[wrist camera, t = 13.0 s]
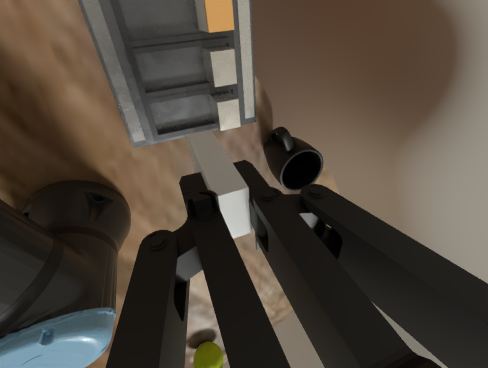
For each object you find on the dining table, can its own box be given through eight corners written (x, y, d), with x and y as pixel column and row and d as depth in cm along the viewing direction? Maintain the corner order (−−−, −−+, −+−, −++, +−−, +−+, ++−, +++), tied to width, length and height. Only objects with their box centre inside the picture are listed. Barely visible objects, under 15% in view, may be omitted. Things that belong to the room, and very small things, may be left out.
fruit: (215, 347, 86) (224, 379, 78) (189, 354, 82) (195, 389, 74) (221, 332, 82) (230, 366, 74) (193, 339, 78) (199, 375, 70)
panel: (133, 143, 38) (134, 163, 33) (70, -25, 26) (56, -33, 21) (253, 118, 43) (268, 132, 38) (245, -33, 31) (267, -42, 26)
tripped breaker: (198, 29, 32) (209, 32, 27) (193, -10, 29) (203, -13, 25) (221, 27, 32) (234, 29, 28) (217, -12, 30) (230, -15, 26)
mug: (282, 101, 43) (313, 119, 36) (299, 151, 51) (327, 175, 44) (242, 125, 43) (265, 148, 36) (265, 172, 51) (288, 199, 43)
